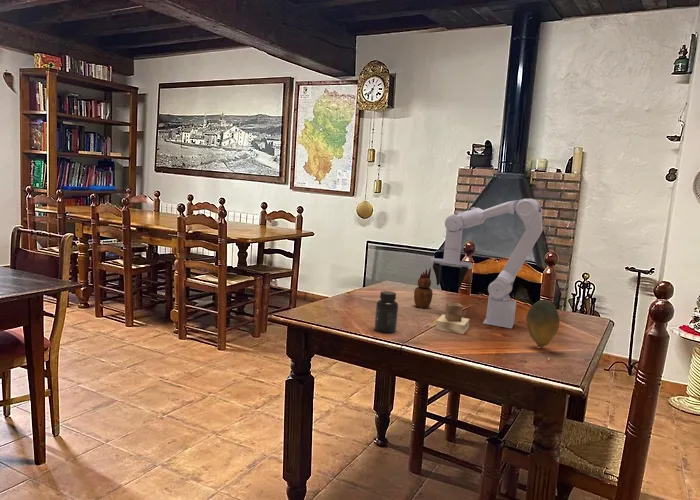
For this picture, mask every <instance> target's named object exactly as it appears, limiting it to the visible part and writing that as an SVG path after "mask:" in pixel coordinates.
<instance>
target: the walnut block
mask: <svg viewBox="0 0 700 500" xmlns="http://www.w3.org/2000/svg"><path fill="white" fill-rule="evenodd" d="M463 308H464V306H463V305H462V304H461V303H460V302H459V303H458V302H446V304H445V314H444V315H445V318H446V319H447V321H456V322H461V320H462V318H463Z"/></svg>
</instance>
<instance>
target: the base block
mask: <svg viewBox="0 0 700 500" xmlns="http://www.w3.org/2000/svg"><path fill="white" fill-rule="evenodd" d="M469 328H470V318H465V317H462V320H461V322H456V321H447V319H446V318H445V314H441V316H439V317H438V318H437V319H436V321H435V330H437V331H440V332H441V331H442V332H448V333H453V334H456V335H457V334H459V335H465V334H466V332H467V331H468V330H469Z"/></svg>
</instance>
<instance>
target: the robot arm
mask: <svg viewBox="0 0 700 500" xmlns="http://www.w3.org/2000/svg"><path fill="white" fill-rule="evenodd" d="M504 214H511V215H517V216H518V217H519V219H521V221H522V223H523V226H524V229H525V231H524V233H523V234H522V236H521V237H520V239H519V241H518V243H517V244H516V246H515V247H514V250H513V251H512V253H511V254H510V256H509V259H507V261H506V264H505V265H504V267H503V268H502V270H501V272H500V273H499V274H498V276H497V277H496V278H495V279H494V280H493V281H492V282H490V283H489V284H488V287H487V292H488V294H489V295H488V299H487V308H486V316H485V319H484V320H483V322H482V324H483V325H487V326H495V327H502V328H507V329H513V326H514V324H515V322H516V317H515V316H516V308H517V301H516V300H512V299H511V296H510V293H511V292H512V290H513V285H514V282H515V279H516V276H517V274H518V273H519V271H520V270H521V268H522V267H523V266H524V265H523V264H524V263H525V261H526V259H527V258H528V256H529V255H530V252H531V251H532V249H533V248H534V246H535V244H536V242H537V241H538V239H539V238H540V236H541V234H542V233H543V230H544V226H543V224H544V223H543V209H542V207H541V204H540V202H539V201H538V200H537V199H534V198H523V199H522V198H521V199H518V200H517V199H516V200H510V201H506V202H502V203H500V204H497V205H494V206H491V207H489V208H486V209H482V208H480V207H475V206H473V207H470V210H469V209H468V210H466V211H458V212H457V214H451V215H449V216H448V217H446V219H445V220H444V227H445V229H446V230H445V237H444V238H445V239H444V249H443V258H435V257H431V258H430V262H429V263H430V264H431V265H432V269H433V272H434V275H435V280H436V285H437V286H440V285H441V275H442V267H443V266H448V267H454V268H459V276H458V284H457V289H461V288H462V284H463V282H464V278H465V276H466V275H467V273H468V272H469V270H472V268H473V262H468V261H462V260H461V250H462V240H463V230H464V229H469V228H473V227H475V226H479V225H482V224H484V222H486V219H489V218H492V217H493V218H494V217H496V216H501V215H504Z"/></svg>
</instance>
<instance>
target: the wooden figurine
mask: <svg viewBox="0 0 700 500" xmlns="http://www.w3.org/2000/svg"><path fill="white" fill-rule="evenodd" d="M431 271H432V268H431V267H430V268H429V270H428V269H427V268H425V271H423V272H422V273H420V277H418V280H417V287H415V289H414V292H413V293H414V294H413V300H414V304H415V306H416V307H417V308H420V309H427V308H429V307H430V306H431V304H432V303H431V302H432V301H433V290H432V288H431V285H432V279H431V273H432V272H431Z"/></svg>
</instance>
